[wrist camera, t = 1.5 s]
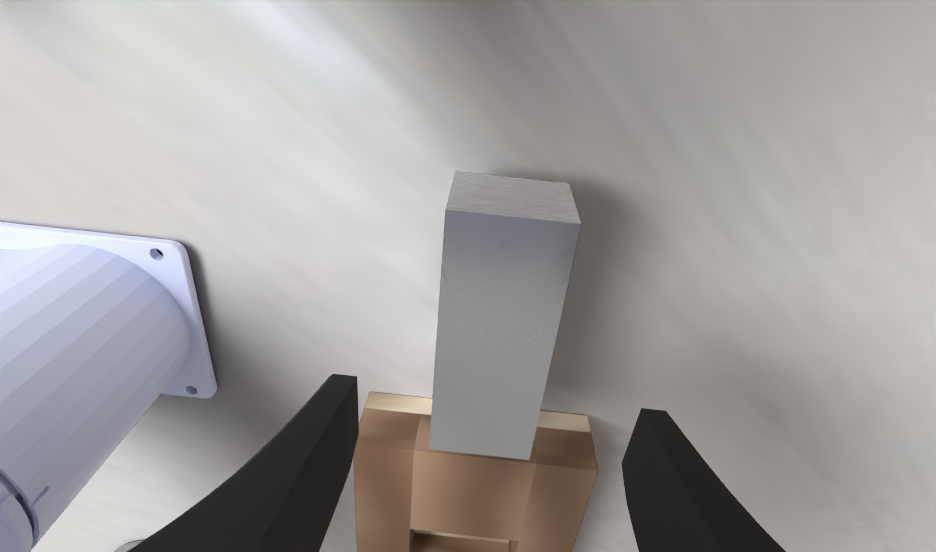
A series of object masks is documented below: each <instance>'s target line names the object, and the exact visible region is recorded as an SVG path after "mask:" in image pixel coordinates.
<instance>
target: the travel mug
mask: <svg viewBox="0 0 936 552" xmlns="http://www.w3.org/2000/svg"><path fill="white" fill-rule="evenodd" d="M141 542H142V541H135V542H130V543H127V544H125V545H123V546H121V547H119V548H118V549H117V550H116V551H115V552H127V551H128V550H130V549H131V548H133V547H134V546H136V545H138V544H139V543H141Z"/></svg>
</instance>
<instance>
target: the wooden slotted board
mask: <svg viewBox="0 0 936 552" xmlns="http://www.w3.org/2000/svg"><path fill="white" fill-rule="evenodd" d="M431 412H432V399H431V398H422V397H413V396H403V395H394V394H385V393H376V392H369V395H368V398H367V401H366V404H365V407H364V411H363V414H362V417H361V420H360V423H359V435H358V439H357V443H356V447H355V451H354V455H353V463H354V487H355V510H356V534H357V552H572V549H573V546H574V543H575V540H576V537H577V534H578V530H579V527H580V524H581V521H582V518H583V515H584V512H585V509H586V506H587V503H588V500H589V497H590V494H591V491H592V488H593V485H594V482H595V479H596V476H597V473H598V467H597V462H596V457H595V451H594V446H593V441H592V436H591V431H590V425H589V420H588V416H587V415H578V414H568V413H559V412H550V411H541V410H540V414H539V419H538V423H537V428H536V432H535V437H534V441H533V446H532V450H531V455H530V459H529V460H524V459H515V458H506V457H496V456H487V455H478V454H469V453H460V452H451V451H442V450H433V449H429V441H430V426H431Z"/></svg>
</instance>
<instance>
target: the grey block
mask: <svg viewBox="0 0 936 552" xmlns="http://www.w3.org/2000/svg"><path fill="white" fill-rule="evenodd" d="M580 228H581V221H580V217H579V214H578V211H577V208H576V205H575V202H574V198H573V195H572V192H571V189H570V186H569V183H563V182H553V181H543V180H534V179H524V178H515V177H505V176H496V175H486V174H477V173H467V172H458V171H455V175H454V178H453V182H452V186H451V190H450V194H449V198H448V202H447V206H446V210H445V225H444V239H443V254H442V268H441V282H440V297H439V311H438V326H437V340H436V354H435V369H434V383H433V397H432V412H431V426H430V441H429V449H433V450H442V451H451V452H460V453H469V454H478V455H487V456H496V457H506V458H515V459H524V460H529V459H530V455H531V450H532V446H533V441H534V437H535V432H536V428H537V423H538V419H539V414H540V410H541V405H542V401H543V396H544V391H545V387H546V382H547V378H548V373H549V369H550V364H551V360H552V355H553V351H554V346H555V342H556V337H557V333H558V328H559V324H560V319H561V314H562V310H563V305H564V301H565V296H566V292H567V287H568V283H569V278H570V274H571V269H572V265H573V260H574V256H575V251H576V246H577V242H578V237H579V233H580Z"/></svg>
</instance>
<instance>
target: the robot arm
mask: <svg viewBox="0 0 936 552" xmlns="http://www.w3.org/2000/svg"><path fill="white" fill-rule="evenodd" d="M156 249H159V250H160V251H161V252H162V253H163V255H164V256H163V255H160V254H159V253H158V252H157V250H156ZM194 387H195V388H194ZM216 391H217V384H216V380H215V375H214V371H213V366H212V362H211V357H210V353H209V348H208V344H207V339H206V335H205V330H204V326H203V321H202V317H201V312H200V308H199V303H198V299H197V294H196V290H195V285H194V281H193V276H192V271H191V267H190V262H189V258H188V253H187V251H186V249H185V248H184V246H183V245H182V244H180V243H179V242H177V241H173V240H165V239H156V238H147V237H137V236H128V235H118V234H109V233H100V232H90V231H81V230H71V229H62V228H53V227H43V226H34V225H25V224H15V223H6V222H0V552H31V549H32V548H33V547H34V546H35V545H36V544H37V543H38V541H39V540H40V539H41V538H42V536H43V535H44V534H45V533H46V532H47V530H48V529H49V528H50V527H51V526H52V524H53V523H54V522H55V521H56V520H57V518H58V517H59V516H60V515H61V514H62V512H63V511H64V510H65V509H66V508H67V506H68V505H69V504H70V503H71V501H72V500H73V499H74V498H75V497H76V495H77V494H78V493H79V492H80V491H81V489H82V488H83V487H84V486H85V485H86V483H87V482H88V481H89V480H90V479H91V477H92V476H93V475H94V474H95V473H96V471H97V470H98V469H99V468H100V466H101V465H102V464H103V463H104V462H105V460H106V459H107V458H108V457H109V456H110V454H111V453H112V452H113V451H114V450H115V448H116V447H117V446H118V445H119V444H120V442H121V441H122V440H123V439H124V438H125V436H126V435H127V434H128V433H129V431H130V430H131V429H132V428H133V427H134V425H135V424H136V423H137V422H138V421H139V419H140V418H141V417H142V416H143V415H144V413H145V412H146V411H147V410H148V409H149V407H150V406H151V405H152V404H153V403H154V401H155V400H156V399H157V398H158V396H159V395H160V394H166V395H175V396H185V397H194V398H203V399H209V398H211V397H213V395H214V394H215V392H216ZM358 435H359V421H358V391H357V377H356V376H347V375H338V374H332V375H331V376H330V377H329V378H328V379H327V380H326V381H325V382H324V384H323V385H322V386H321V387H320V388H319V389H318V391H317V392H316V393H315V394H314V395H313V396H312V398H311V399H310V400H309V401H308V402H307V403H306V404H305V405H304V406H303V408H302V409H301V410H300V411H299V412H298V413H297V414H296V415H295V416H294V417H293V418H292V419H291V420H290V421H289V422H288V423H287V424H286V425H285V427H284V428H283V429H282V430H281V431H280V432H279V433H278V434H277V435H276V436H275V437H274V438H273V439H272V440H271V441H270V442H269V443H267V444H266V445H265V446H264V447H263V448H262V449H261V450H260V451H259V452H258V453H257V454H256V455H255V456H254V457H253V458H251V459H250V460H249V461H248V462H247V463H246V464H245V465H244V466H243V467H241V468H240V469H239V470H238V471H237V472H236V473H235V474H233V475H232V476H231V477H230V478H229V479H227V480H226V481H225V482H224V483H223V484H221V485H220V486H219V487H218V488H216V489H215V490H214V491H213V492H211V493H210V494H209V495H208V496H206V497H205V498H204V499H202V500H201V501H200V502H198V503H197V504H196V505H194V506H193V507H192V508H190V509H189V510H188V511H186V512H185V513H184V514H182V515H181V516H179V517H178V518H177V519H175V520H174V521H172V522H171V523H170V524H168V525H167V526H165V527H164V528H162V529H161V530H159V531H158V532H156V533H155V534H153V535H151V536H150V537H148V538H147V539H145V540H144V541H142V542H141V543H139V544H138V545H136V546H134V547H133V548H131V549H130V550H128V551H127V552H319V550H320V548H321V545H322V542H323V540H324V537H325V534H326V532H327V529H328V527H329V524H330V521H331V519H332V516H333V513H334V511H335V508H336V506H337V503H338V500H339V498H340V495H341V492H342V490H343V487H344V484H345V482H346V479H347V476H348V473H349V470H350V467H351V463H352V459H353V455H354V451H355V447H356V443H357V439H358ZM622 470H623V478H624V486H625V493H626V500H627V506H628V510H629V514H630V518H631V522H632V526H633V530H634V534H635V538H636V542H637V545H638V549H639V552H786V551H785V550H784V549H783V548H782V547H781V546H780V545H779V544H778V543H777V542H776V541H774V540H773V539H772V537H771V536H770V535H769V534H768V533H767V532H766V531H765V530H764V529H763V528H762V527H761V526H760V525H759V524H758V523H757V522H756V521H755V519H754V518H753V517H752V516H751V515H750V514H749V513H748V512H747V511H746V509H745V508H744V507H743V506H742V505H741V504H740V503H739V502H738V501H737V499H736V498H735V497H734V496H733V495H732V494H731V492H730V491H729V490H728V489H727V488H726V487H725V485H724V484H723V483H722V482H721V481H720V479H719V478H718V477H717V476H716V474H715V473H714V472H713V471H712V470H711V468H710V467H709V466H708V465H707V463H706V462H705V461H704V460H703V458H702V457H701V456H700V454H699V453H698V452H697V451H696V449H695V448H694V447H693V445H692V444H691V443H690V442H689V440H688V439H687V438H686V436H685V435H684V434H683V433H682V431H681V430H680V429H679V427H678V426H677V425H676V423H675V422H674V421H673V420H672V418H671V417H670V416H669V414H668V413H667V412H666V411H661V410H652V409H643V408H641V411H640V414H639V417H638V419H637V422H636V425H635V428H634V430H633V433H632V436H631V439H630V442H629V444H628V447H627V450H626V453H625V455H624V458H623V461H622Z"/></svg>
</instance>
